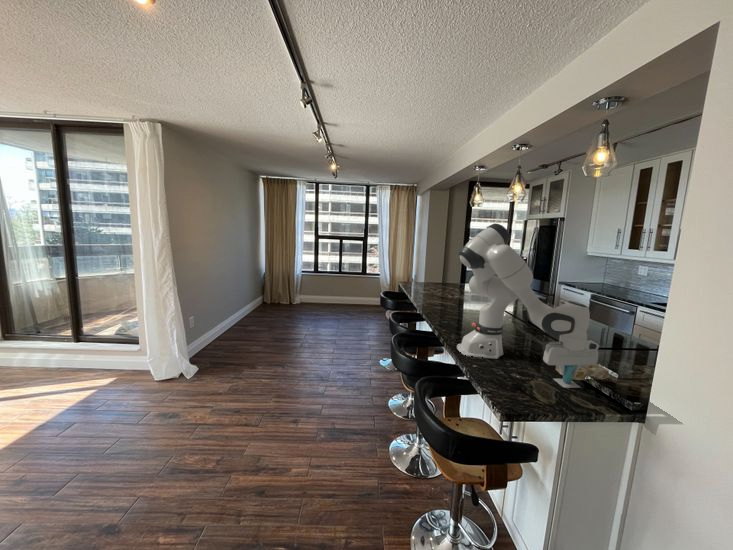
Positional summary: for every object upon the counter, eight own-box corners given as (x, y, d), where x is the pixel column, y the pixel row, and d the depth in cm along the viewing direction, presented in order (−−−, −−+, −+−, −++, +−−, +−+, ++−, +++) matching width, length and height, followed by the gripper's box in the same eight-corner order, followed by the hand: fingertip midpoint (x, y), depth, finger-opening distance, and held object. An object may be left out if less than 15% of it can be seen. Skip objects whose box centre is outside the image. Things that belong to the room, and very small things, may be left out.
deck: (563, 389, 118) (563, 387, 118) (552, 380, 125) (552, 378, 125) (581, 389, 118) (581, 387, 118) (568, 380, 125) (569, 378, 125)
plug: (565, 383, 120) (568, 364, 118) (560, 379, 123) (562, 360, 122) (574, 383, 120) (576, 364, 118) (568, 379, 123) (570, 360, 122)
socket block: (569, 381, 124) (571, 370, 123) (555, 371, 133) (556, 360, 132) (607, 382, 124) (609, 370, 123) (590, 371, 133) (592, 360, 132)
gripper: (551, 344, 115) (547, 378, 117) (603, 345, 116) (598, 378, 118) (541, 338, 121) (538, 370, 124) (590, 339, 122) (586, 370, 124)
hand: (567, 374), depth 121 cm, fingers closed on plug, 3 cm apart
